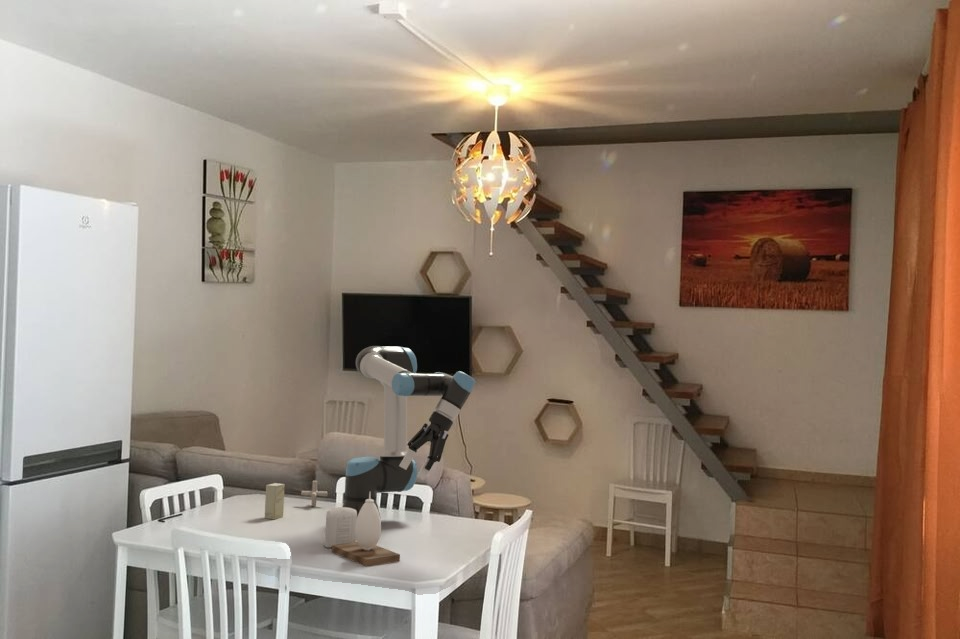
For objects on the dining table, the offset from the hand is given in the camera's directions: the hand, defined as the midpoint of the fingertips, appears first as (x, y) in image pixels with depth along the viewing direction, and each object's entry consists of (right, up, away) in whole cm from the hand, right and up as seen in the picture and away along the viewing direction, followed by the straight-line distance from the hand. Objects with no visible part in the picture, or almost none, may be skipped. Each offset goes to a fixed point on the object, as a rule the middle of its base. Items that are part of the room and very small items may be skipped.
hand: (411, 473), depth 274 cm
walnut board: (-13, -23, -13) cm, 30 cm away
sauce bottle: (-12, -22, -13) cm, 28 cm away
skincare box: (-53, -23, +37) cm, 69 cm away
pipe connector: (-43, -24, +61) cm, 78 cm away
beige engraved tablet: (-23, -23, -2) cm, 33 cm away
